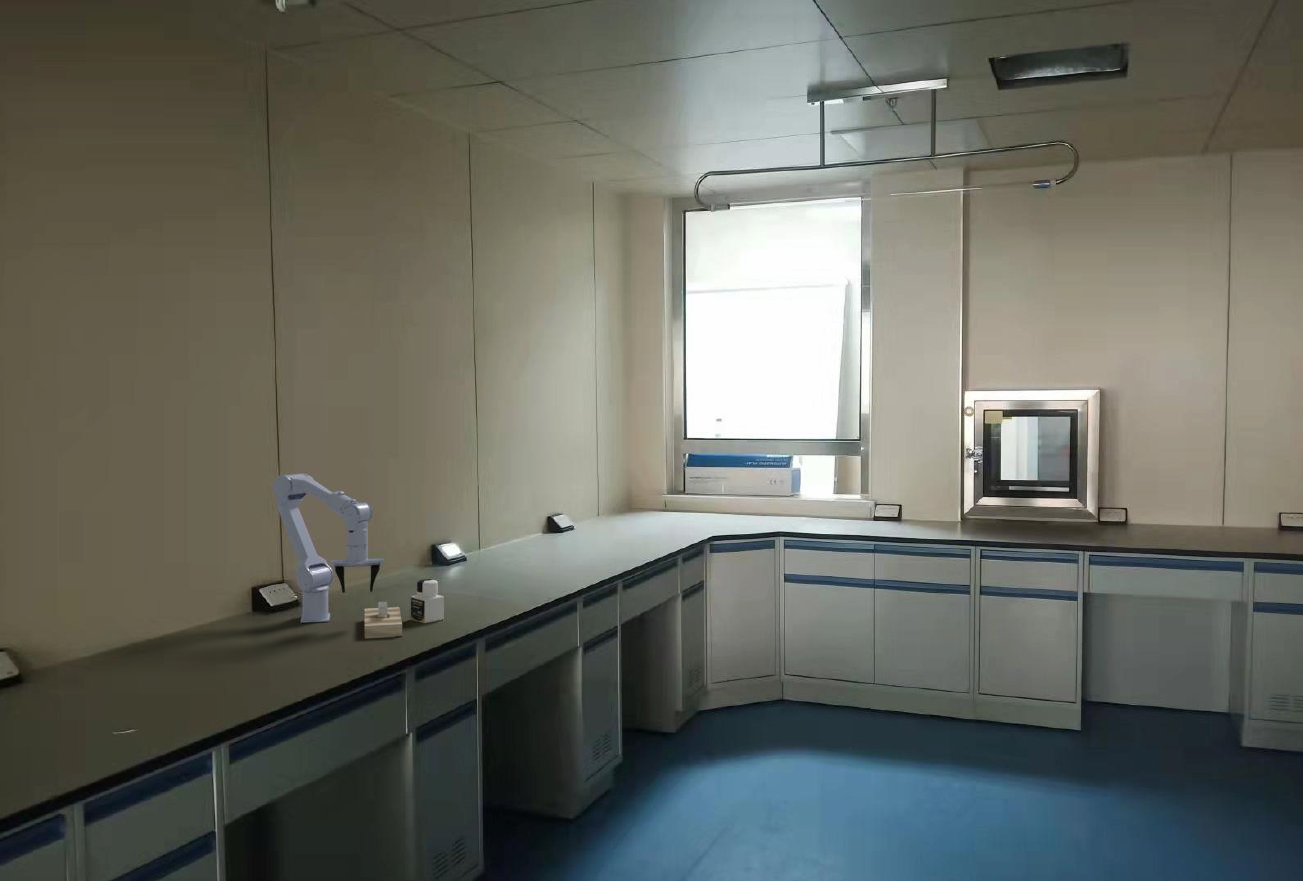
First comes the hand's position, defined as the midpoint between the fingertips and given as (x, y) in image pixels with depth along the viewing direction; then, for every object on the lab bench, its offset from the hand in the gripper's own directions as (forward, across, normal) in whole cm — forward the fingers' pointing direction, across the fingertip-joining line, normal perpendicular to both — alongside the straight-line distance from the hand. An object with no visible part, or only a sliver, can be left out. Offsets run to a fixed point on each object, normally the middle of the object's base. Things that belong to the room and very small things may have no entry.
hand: (357, 591), depth 291 cm
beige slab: (+10, +7, -5) cm, 13 cm away
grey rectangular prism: (+10, +7, -5) cm, 13 cm away
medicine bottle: (+10, +20, +3) cm, 23 cm away
